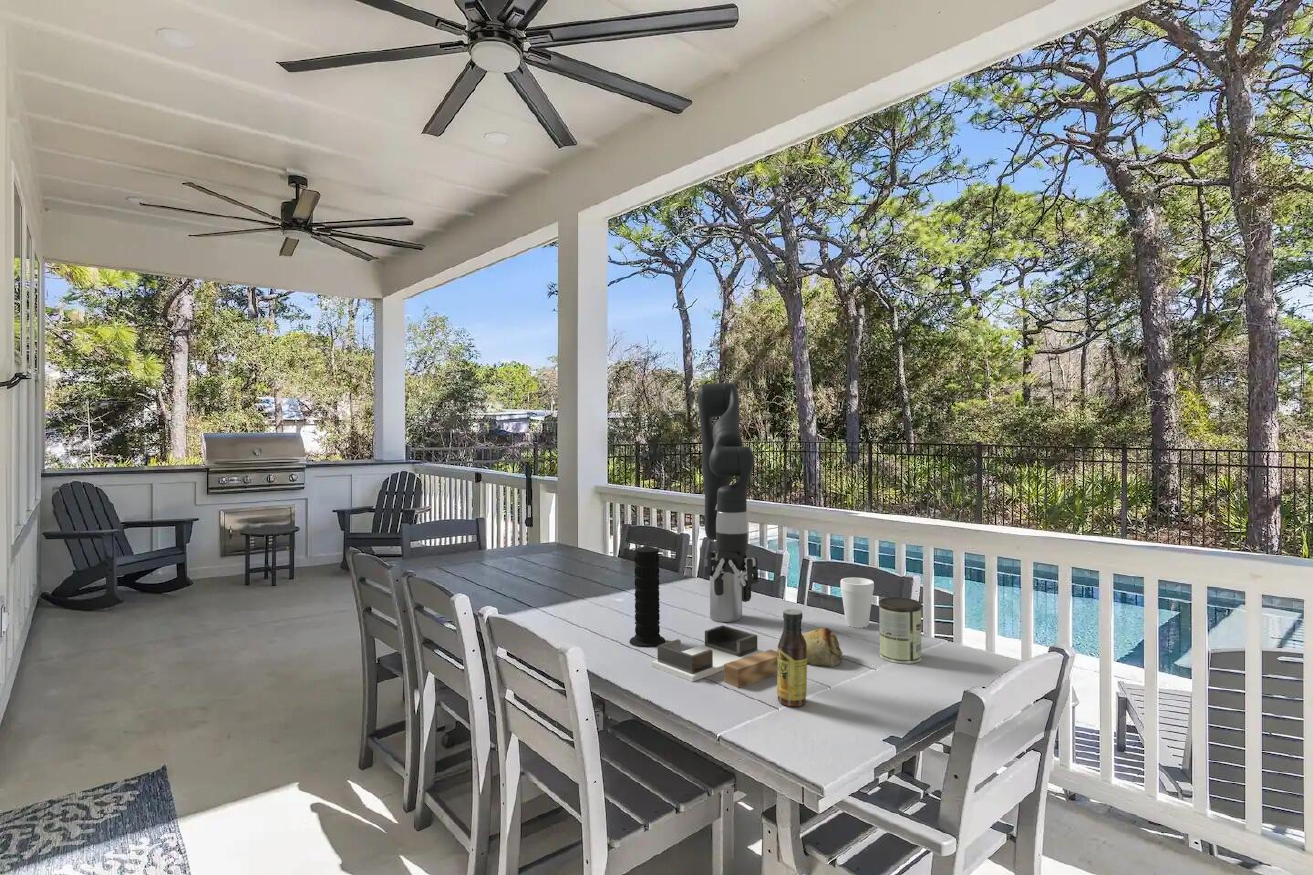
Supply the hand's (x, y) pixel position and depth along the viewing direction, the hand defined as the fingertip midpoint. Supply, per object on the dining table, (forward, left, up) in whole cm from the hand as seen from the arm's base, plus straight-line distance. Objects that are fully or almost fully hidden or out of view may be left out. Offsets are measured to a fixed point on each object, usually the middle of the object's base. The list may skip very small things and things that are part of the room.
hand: (732, 597), depth 164 cm
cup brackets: (-3, -10, -17) cm, 20 cm away
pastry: (-24, +7, -19) cm, 31 cm away
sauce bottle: (+3, +20, -19) cm, 27 cm away
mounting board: (-3, -10, -18) cm, 21 cm away
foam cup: (-56, 0, -19) cm, 59 cm away
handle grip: (-2, -32, -19) cm, 37 cm away
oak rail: (-3, +5, -19) cm, 19 cm away
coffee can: (-40, +22, -19) cm, 49 cm away
